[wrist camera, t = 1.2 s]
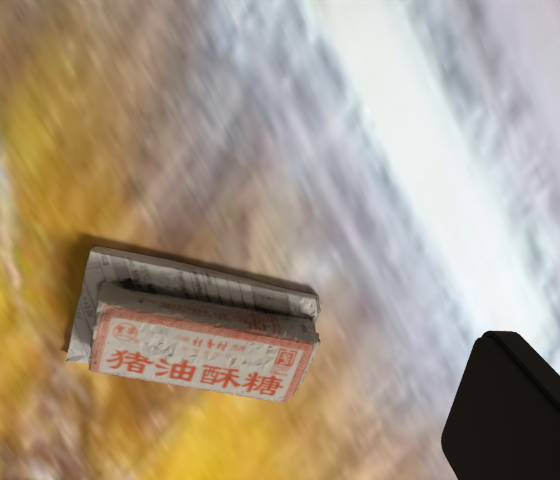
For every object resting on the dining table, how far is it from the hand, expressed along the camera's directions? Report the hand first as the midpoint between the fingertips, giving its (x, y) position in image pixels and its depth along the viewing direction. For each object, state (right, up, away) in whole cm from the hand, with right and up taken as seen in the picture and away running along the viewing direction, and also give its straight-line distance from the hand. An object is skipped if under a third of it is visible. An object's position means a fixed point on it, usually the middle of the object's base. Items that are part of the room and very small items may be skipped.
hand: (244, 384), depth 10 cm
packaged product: (-6, -4, +31) cm, 32 cm away
